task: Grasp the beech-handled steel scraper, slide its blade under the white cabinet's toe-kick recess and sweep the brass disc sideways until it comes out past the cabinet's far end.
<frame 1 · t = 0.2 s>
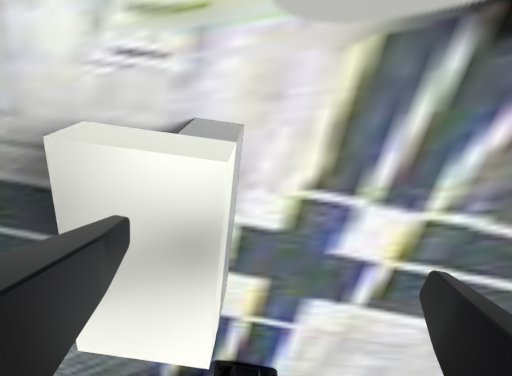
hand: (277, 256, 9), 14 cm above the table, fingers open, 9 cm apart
cabinet: (179, 208, 25), on the table
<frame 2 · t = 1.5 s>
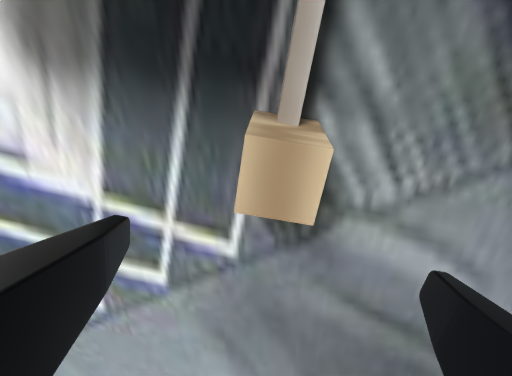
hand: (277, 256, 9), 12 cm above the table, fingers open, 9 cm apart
scraper: (280, 146, 20), on the table
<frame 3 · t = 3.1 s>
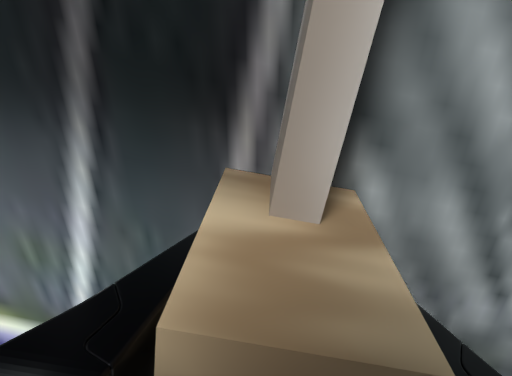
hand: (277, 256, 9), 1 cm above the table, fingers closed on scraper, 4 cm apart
scraper: (277, 234, 10), on the table, touching gripper
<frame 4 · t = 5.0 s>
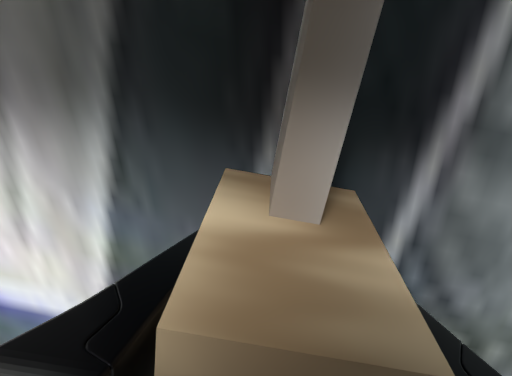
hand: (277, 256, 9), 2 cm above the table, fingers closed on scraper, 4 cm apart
scraper: (277, 234, 10), on the table, touching gripper
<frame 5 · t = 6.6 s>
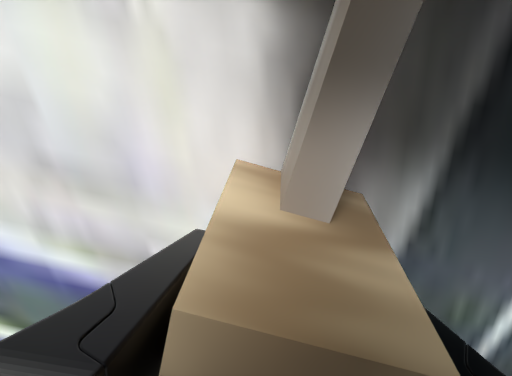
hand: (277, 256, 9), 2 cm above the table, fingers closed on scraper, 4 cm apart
scraper: (281, 230, 10), point 1 cm above the table, touching gripper, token
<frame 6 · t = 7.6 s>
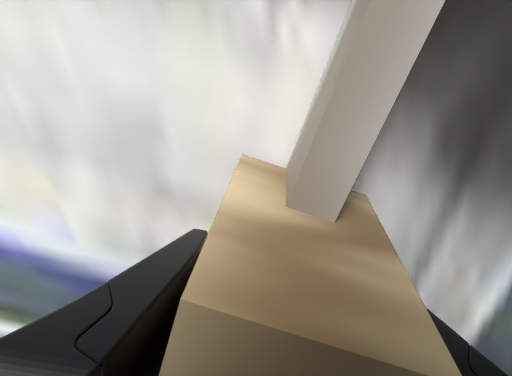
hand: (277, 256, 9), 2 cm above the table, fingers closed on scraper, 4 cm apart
scraper: (282, 228, 10), on the table, touching gripper
when the fingers open (2 cm above the table, at t = 8.8 s): scraper stays where it is, on the table.
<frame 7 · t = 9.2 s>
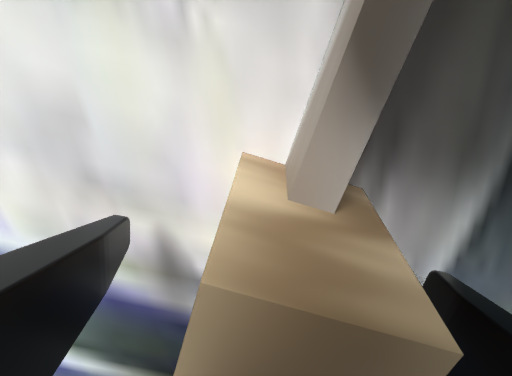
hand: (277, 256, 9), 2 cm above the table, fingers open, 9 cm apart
scraper: (282, 222, 11), on the table
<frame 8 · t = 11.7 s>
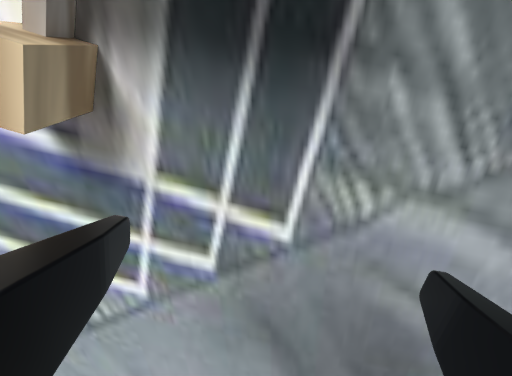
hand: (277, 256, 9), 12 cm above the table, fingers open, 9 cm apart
scraper: (62, 69, 19), on the table
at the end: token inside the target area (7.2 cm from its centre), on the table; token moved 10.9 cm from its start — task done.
